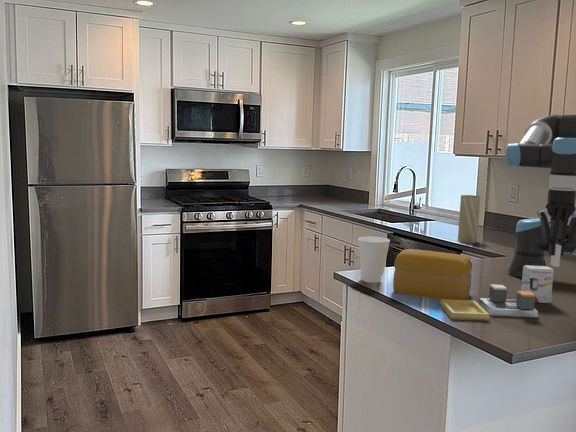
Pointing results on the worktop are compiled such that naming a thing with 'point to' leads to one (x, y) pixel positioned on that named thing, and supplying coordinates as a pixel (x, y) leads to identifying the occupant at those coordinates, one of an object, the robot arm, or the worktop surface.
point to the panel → (506, 308)
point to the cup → (373, 257)
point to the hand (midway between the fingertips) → (554, 265)
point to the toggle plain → (498, 293)
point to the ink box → (538, 282)
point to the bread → (432, 274)
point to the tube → (468, 218)
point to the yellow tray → (464, 310)
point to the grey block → (525, 300)
